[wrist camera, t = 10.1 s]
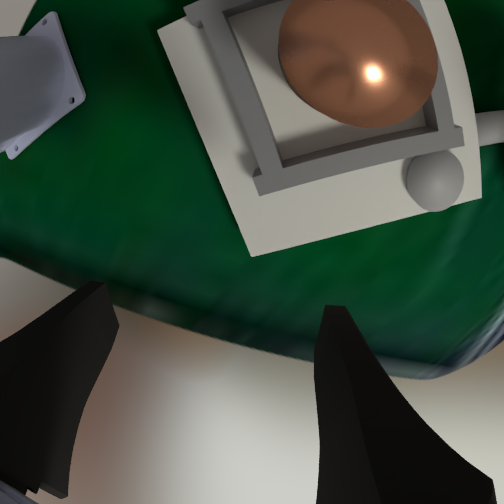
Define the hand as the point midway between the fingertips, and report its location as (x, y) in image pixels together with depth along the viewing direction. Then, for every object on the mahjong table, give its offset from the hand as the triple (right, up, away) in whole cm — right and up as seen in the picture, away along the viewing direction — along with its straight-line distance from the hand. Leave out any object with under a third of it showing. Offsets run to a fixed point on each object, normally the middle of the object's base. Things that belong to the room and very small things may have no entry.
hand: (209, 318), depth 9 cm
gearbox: (+8, +11, +5) cm, 14 cm away
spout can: (+5, +11, +2) cm, 13 cm away
